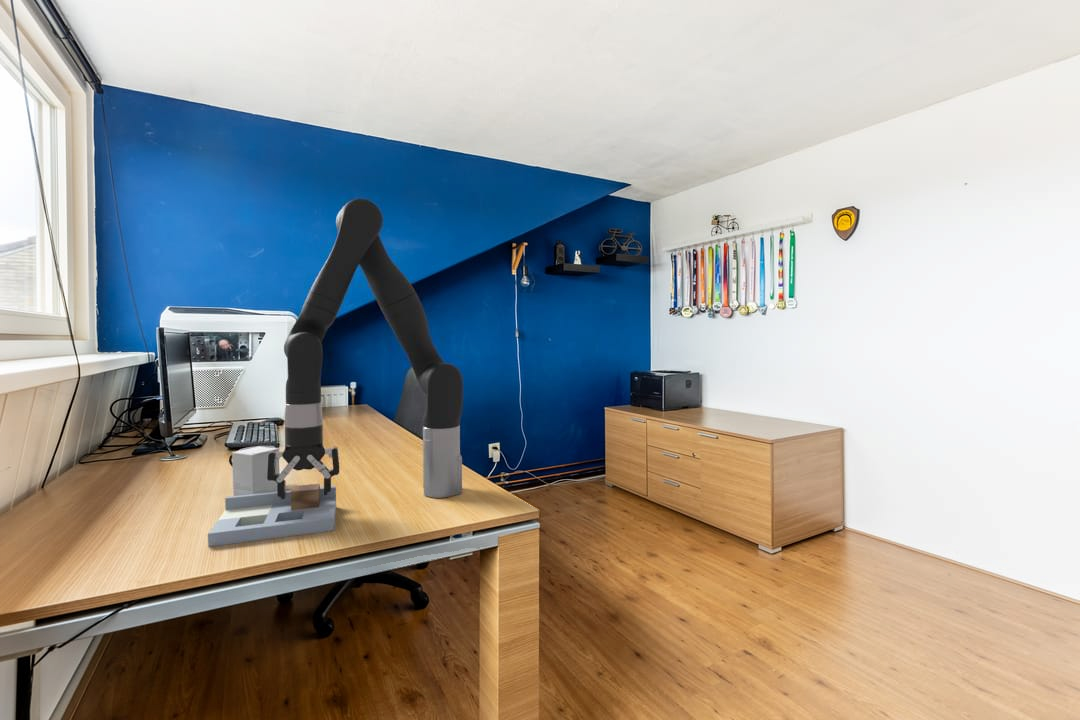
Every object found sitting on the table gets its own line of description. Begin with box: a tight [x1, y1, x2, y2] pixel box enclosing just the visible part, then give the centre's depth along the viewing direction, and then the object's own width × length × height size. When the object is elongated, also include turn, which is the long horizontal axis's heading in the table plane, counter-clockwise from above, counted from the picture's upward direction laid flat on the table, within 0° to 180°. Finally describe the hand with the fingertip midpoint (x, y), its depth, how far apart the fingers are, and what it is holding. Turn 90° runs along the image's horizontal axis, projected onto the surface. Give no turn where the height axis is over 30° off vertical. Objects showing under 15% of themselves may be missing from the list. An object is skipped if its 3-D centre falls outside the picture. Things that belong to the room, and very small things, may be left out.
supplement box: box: [231, 445, 281, 496], centre depth 119 cm, size 7×7×13 cm
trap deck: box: [207, 485, 337, 547], centre depth 104 cm, size 22×15×5 cm
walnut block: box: [290, 483, 321, 510], centre depth 109 cm, size 6×4×4 cm
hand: (304, 496), depth 109 cm, fingers open, 8 cm apart
